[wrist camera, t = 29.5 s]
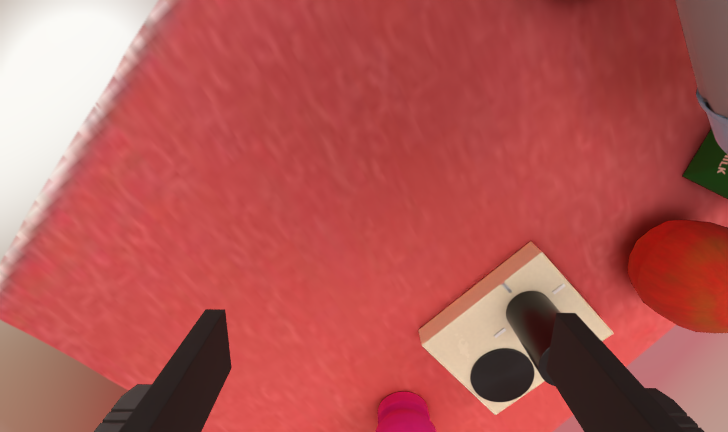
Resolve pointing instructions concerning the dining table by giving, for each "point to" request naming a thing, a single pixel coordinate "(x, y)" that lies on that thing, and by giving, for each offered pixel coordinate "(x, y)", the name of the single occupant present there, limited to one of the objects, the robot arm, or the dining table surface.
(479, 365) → the burner
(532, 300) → the hob knob
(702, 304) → the apple
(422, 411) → the pepper mill
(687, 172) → the milk carton
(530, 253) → the hob
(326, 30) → the dining table surface
